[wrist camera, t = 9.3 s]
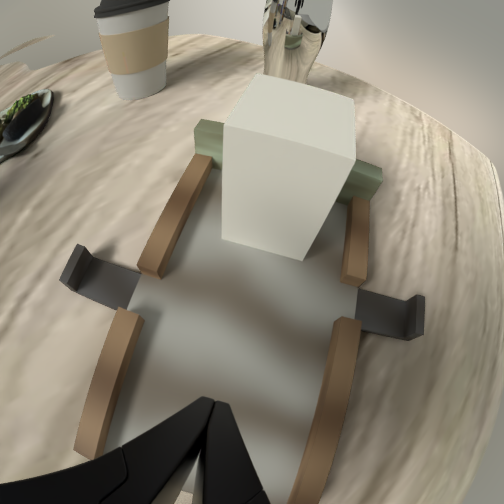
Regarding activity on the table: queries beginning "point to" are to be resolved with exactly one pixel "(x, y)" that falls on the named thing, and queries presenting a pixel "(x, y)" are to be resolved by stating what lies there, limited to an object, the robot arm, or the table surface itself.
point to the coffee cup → (135, 44)
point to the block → (284, 163)
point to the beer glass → (293, 36)
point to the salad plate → (24, 122)
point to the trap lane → (238, 328)
